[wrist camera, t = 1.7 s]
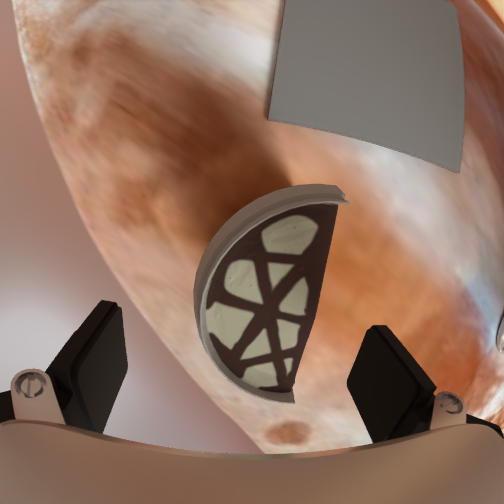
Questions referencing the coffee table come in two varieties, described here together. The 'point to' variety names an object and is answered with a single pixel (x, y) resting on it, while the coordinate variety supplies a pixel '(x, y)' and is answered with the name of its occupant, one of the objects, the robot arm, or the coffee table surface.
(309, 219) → the food container
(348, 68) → the mat
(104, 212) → the coffee table surface
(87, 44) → the coffee table surface
